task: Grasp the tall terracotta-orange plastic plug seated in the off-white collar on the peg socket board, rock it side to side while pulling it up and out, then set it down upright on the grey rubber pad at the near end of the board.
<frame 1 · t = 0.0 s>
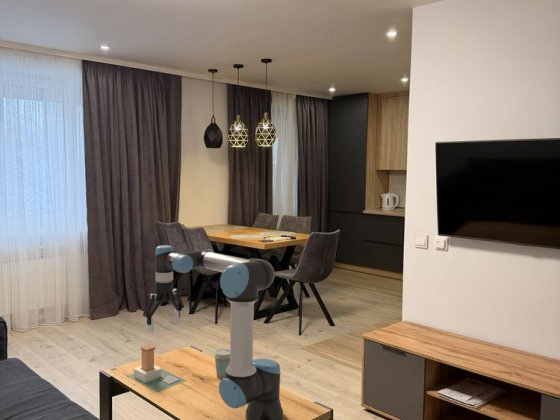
hand: (163, 328, 216), 28 cm above the table, fingers open, 13 cm apart
coffee cup: (223, 376, 233), on the table
peg socket board: (156, 381, 226), on the table
plug: (147, 376, 227), point 1 cm above the table, touching peg socket board
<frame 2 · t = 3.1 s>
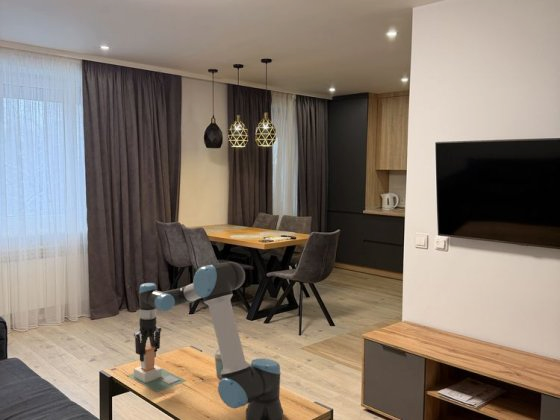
hand: (147, 366, 226), 7 cm above the table, fingers closed on plug, 4 cm apart
plug: (147, 376, 227), point 2 cm above the table, touching gripper, peg socket board
everything else where it was.
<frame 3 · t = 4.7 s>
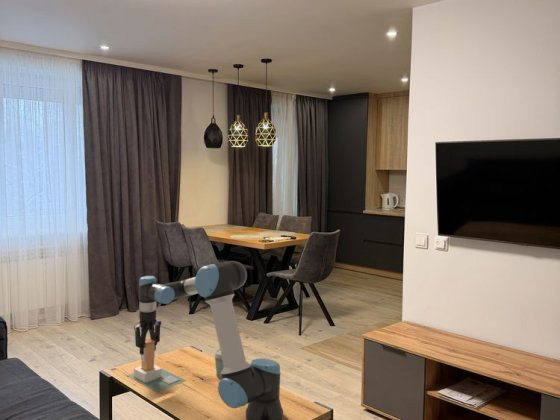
hand: (147, 359, 226), 10 cm above the table, fingers closed on plug, 4 cm apart
plug: (147, 370, 227), point 5 cm above the table, touching gripper
everything else where it was.
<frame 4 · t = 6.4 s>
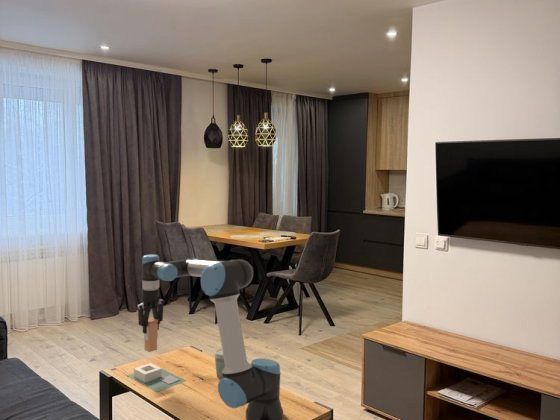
hand: (150, 338, 225), 20 cm above the table, fingers closed on plug, 4 cm apart
plug: (150, 349, 225), point 15 cm above the table, touching gripper
everything else where it was.
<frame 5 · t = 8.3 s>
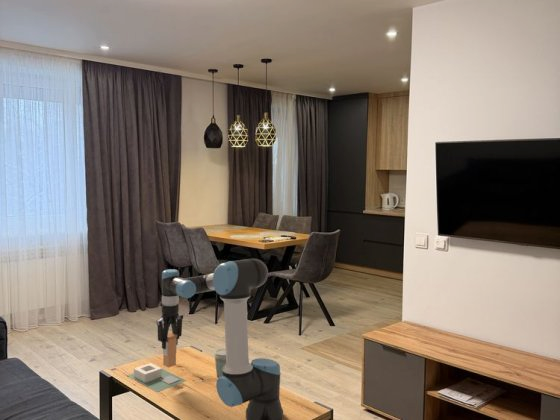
hand: (169, 353, 223), 14 cm above the table, fingers closed on plug, 4 cm apart
plug: (169, 364, 224), point 9 cm above the table, touching gripper
everything else where it was.
when the fingers open (8 cm above the table, at t = 10.0 s): plug stays where it is, resting on peg socket board.
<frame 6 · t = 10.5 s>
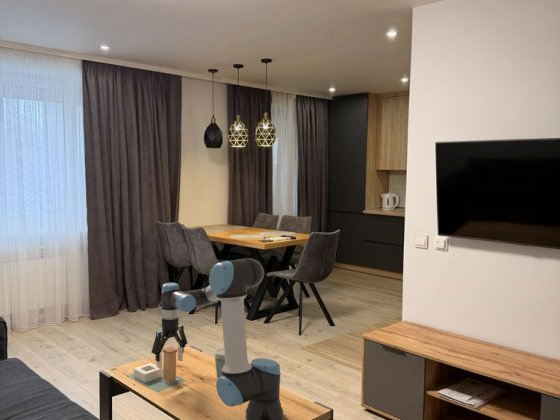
hand: (169, 364, 224), 9 cm above the table, fingers open, 11 cm apart
plug: (169, 379, 224), point 2 cm above the table, touching peg socket board
everything else where it was.
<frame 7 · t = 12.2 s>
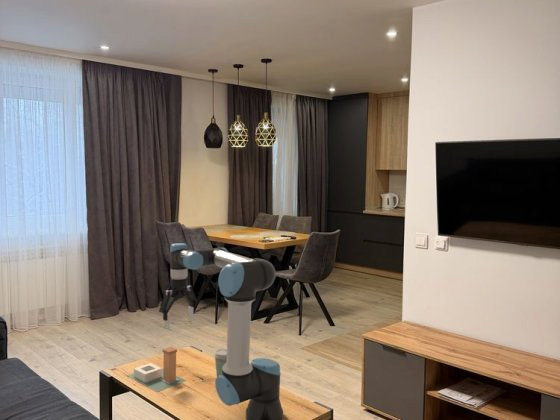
hand: (179, 323, 222), 28 cm above the table, fingers open, 13 cm apart
nothing on the table moved.
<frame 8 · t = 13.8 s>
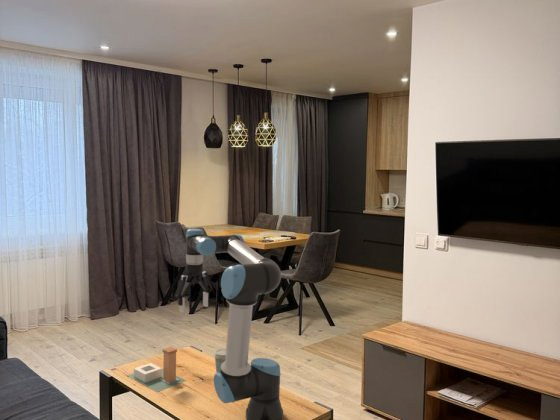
hand: (193, 309, 223), 35 cm above the table, fingers open, 13 cm apart
nothing on the table moved.
at the end: plug inside the target area on the peg socket board (0.0 cm from its centre), point 1.8 cm above the peg socket board's base; plug tilted 0°; the gripper is holding nothing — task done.
